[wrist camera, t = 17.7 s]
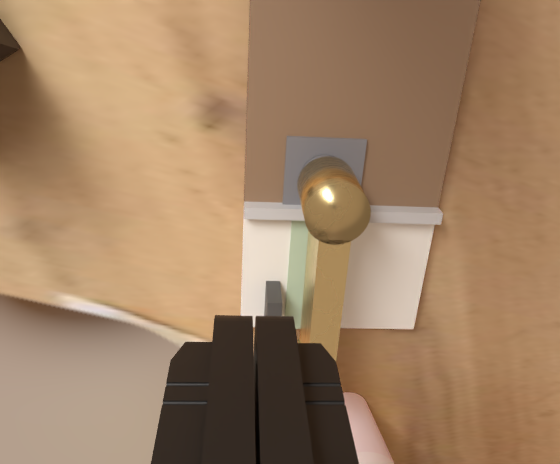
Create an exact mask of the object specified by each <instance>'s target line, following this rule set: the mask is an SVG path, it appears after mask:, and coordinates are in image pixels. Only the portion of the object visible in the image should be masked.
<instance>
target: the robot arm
mask: <svg viewBox="0 0 560 464" xmlns="http://www.w3.org/2000/svg"><path fill="white" fill-rule="evenodd" d="M151 464H359V461H358V457H357V453H356V448H355V444H354V439H353V435H352V431H351V426H350V422H349V417H348V413H347V409H346V405H345V400H344V395H343V391H342V387H341V382H340V378H339V373H338V369H337V365H336V361H335V360H334V359H333V357H332V356H331V355H330V354H329V353H328V351H327V350H326V349H325V348H324V347H323V345H322V344H321V343H297V337H296V330H295V322H294V317H293V316H256V318H255V336H254V357H253V316H225V315H215V319H214V330H213V341H212V342H185V343H184V345H183V346H182V347H181V348H180V350H179V351H178V352H177V353H176V354H175V356H174V357H173V358H172V359H171V362H170V367H169V372H168V377H167V385H166V388H165V393H164V398H163V405H162V409H161V414H160V419H159V424H158V430H157V435H156V440H155V445H154V450H153V456H152V461H151Z"/></svg>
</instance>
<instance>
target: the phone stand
mask: <svg viewBox="0 0 560 464" xmlns="http://www.w3.org/2000/svg"><path fill="white" fill-rule="evenodd" d="M19 49H20V46H19V44H18V42H17V41H16V40H15V38H14V37H13V36H12V34H11V33H10V32H9V30H8V29H7V28H6V26H5V25H4V23H3V22H2V21H1V19H0V61H1V60H3V59H4V58H6V57H8V56H9V55H11V54H12V53H14V52H15V51H17V50H19Z"/></svg>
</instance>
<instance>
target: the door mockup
mask: <svg viewBox="0 0 560 464" xmlns="http://www.w3.org/2000/svg"><path fill="white" fill-rule="evenodd" d="M480 1H481V0H250V22H249V55H248V88H247V121H246V154H245V187H244V220H243V252H242V285H241V316H253V327H255V318H256V316H293V317H294V322H295V329H300V327H301V314H302V302H303V290H304V278H305V266H306V254H307V242H308V229H307V227H306V224H305V220H304V215H303V211H302V207H301V203H300V198H299V194H298V189H297V182H298V177H299V175H300V172H301V171H302V169H303V168H304V167H305V166H306V165H307V164H308V163H309V162H311V161H312V160H314V159H316V158H319V157H324V156H331V157H337V158H339V159H341V160H343V161H345V162H346V163H347V164H348V165H349V166H350V167H351V169H352V171H353V172H354V174H355V176H356V178H357V180H358V182H359V184H360V186H361V188H362V190H363V192H364V193H365V195H366V197H367V199H368V201H369V204H370V208H371V216H370V221H369V223H368V225H367V227H366V229H365V230H364V232H363V233H362V234H361V235H360V236H359V237H357V238H356V239H354V240H352V241H351V246H350V254H349V262H348V270H347V278H346V286H345V294H344V303H343V311H342V319H341V327H340V328H358V329H414V324H415V319H416V314H417V309H418V305H419V300H420V295H421V290H422V285H423V280H424V275H425V270H426V265H427V260H428V256H429V251H430V246H431V241H432V236H433V231H434V226H435V224H436V225H441V222H442V217H443V213H442V211H441V210H440V209H439V208H438V207H439V202H440V197H441V192H442V187H443V182H444V177H445V172H446V167H447V163H448V158H449V153H450V148H451V143H452V138H453V133H454V128H455V123H456V119H457V114H458V109H459V104H460V99H461V94H462V89H463V84H464V79H465V74H466V70H467V65H468V60H469V55H470V50H471V45H472V40H473V35H474V30H475V26H476V21H477V16H478V11H479V6H480Z"/></svg>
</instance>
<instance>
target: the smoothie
mask: <svg viewBox="0 0 560 464" xmlns="http://www.w3.org/2000/svg"><path fill="white" fill-rule="evenodd" d="M343 395H344V400H345V405H346V409H347V413H348V417H349V422H350V426H351V431H352V435H353V439H354V444H355V448H356V453H357V457H358V461H359V464H394V461H393V459H392V457H391V455H390V453H389V450H388V448H387V446H386V444H385V442H384V439H383V437H382V435H381V433H380V431H379V429H378V426H377V424H376V422H375V420H374V418H373V415H372V413H371V411H370V409H369V407H368V404H367V402H366V400H365V399H364V398H363V397H362V396H360V395H359V394H356V393H352V392H344V393H343Z"/></svg>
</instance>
